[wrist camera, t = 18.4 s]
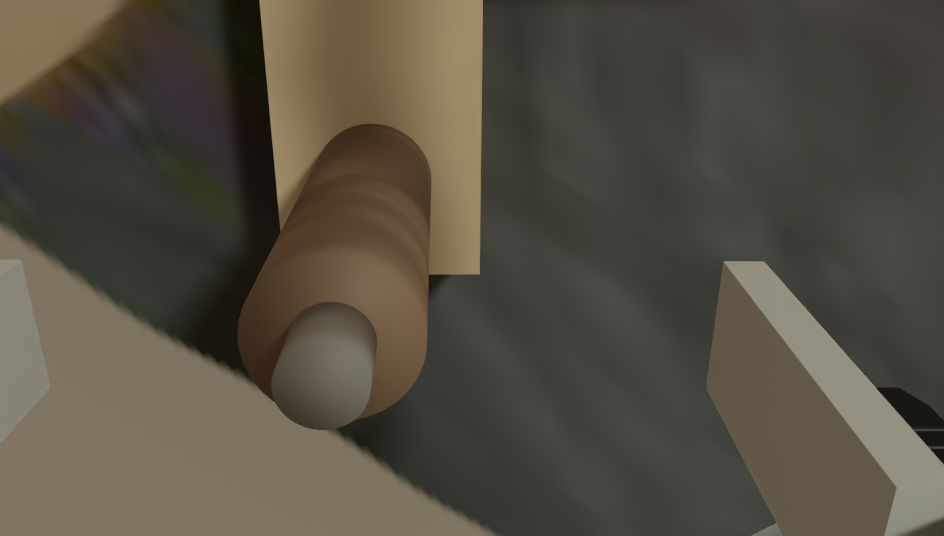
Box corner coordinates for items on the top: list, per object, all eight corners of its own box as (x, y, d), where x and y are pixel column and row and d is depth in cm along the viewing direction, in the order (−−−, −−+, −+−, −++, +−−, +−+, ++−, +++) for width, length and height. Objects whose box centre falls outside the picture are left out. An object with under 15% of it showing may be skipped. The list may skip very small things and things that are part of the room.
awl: (430, 123, 23) (423, 291, 13) (432, 234, 25) (428, 472, 14) (310, 124, 23) (201, 295, 12) (319, 235, 25) (228, 476, 14)
